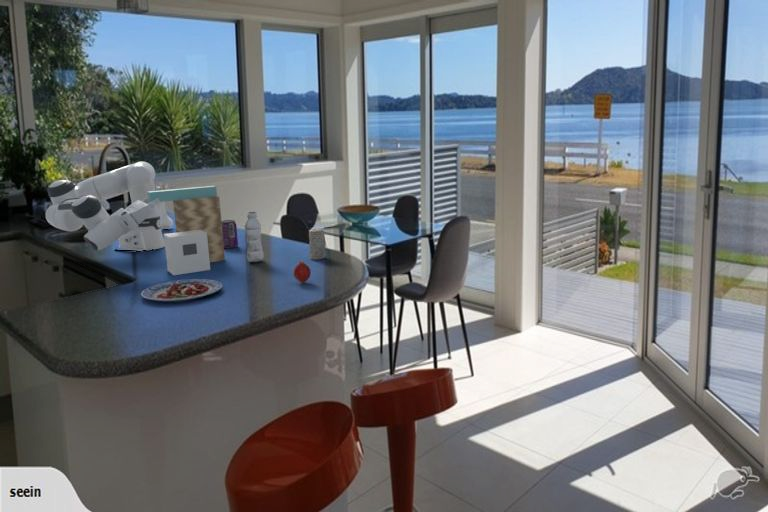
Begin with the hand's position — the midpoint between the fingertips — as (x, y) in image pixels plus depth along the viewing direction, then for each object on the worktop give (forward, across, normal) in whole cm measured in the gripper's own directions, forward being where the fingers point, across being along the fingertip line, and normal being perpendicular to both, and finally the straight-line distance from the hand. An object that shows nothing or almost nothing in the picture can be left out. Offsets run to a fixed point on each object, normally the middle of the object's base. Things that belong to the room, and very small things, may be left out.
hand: (155, 198), depth 258 cm
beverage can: (+16, -21, -41) cm, 49 cm away
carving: (+34, +28, -51) cm, 67 cm away
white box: (-8, +14, -27) cm, 31 cm away
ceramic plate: (-18, +48, -22) cm, 56 cm away
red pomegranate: (+15, +61, -40) cm, 75 cm away
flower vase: (+5, -94, -34) cm, 101 cm away
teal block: (+8, 0, -6) cm, 11 cm away
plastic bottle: (+14, +17, -40) cm, 46 cm away
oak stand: (0, 0, -31) cm, 31 cm away
